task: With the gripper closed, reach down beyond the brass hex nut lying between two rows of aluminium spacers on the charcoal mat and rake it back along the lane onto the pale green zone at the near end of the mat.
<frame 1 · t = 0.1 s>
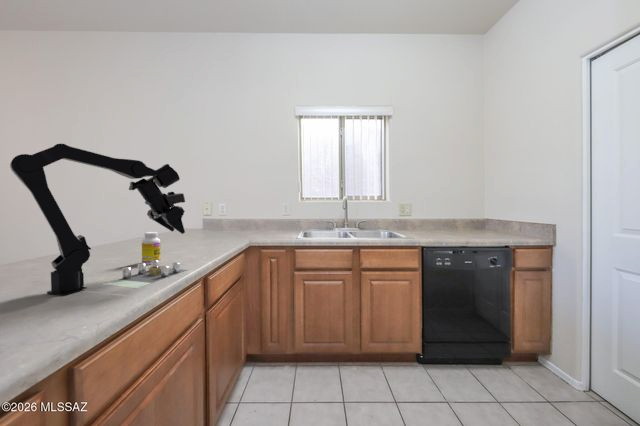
hand: (178, 231, 107), 15 cm above the worktop, tool tilted 30°, fingers open, 9 cm apart
supplement bottle: (151, 264, 121), on the worktop
mat: (149, 277, 100), on the worktop
spacers: (153, 270, 102), on the mat
nut: (156, 274, 103), resting on mat
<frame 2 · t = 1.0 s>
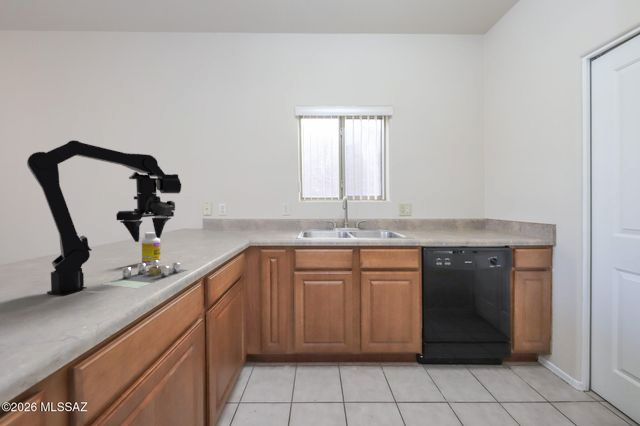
hand: (148, 239, 99), 13 cm above the worktop, tool pointing down, fingers open, 9 cm apart
nothing on the worktop moved.
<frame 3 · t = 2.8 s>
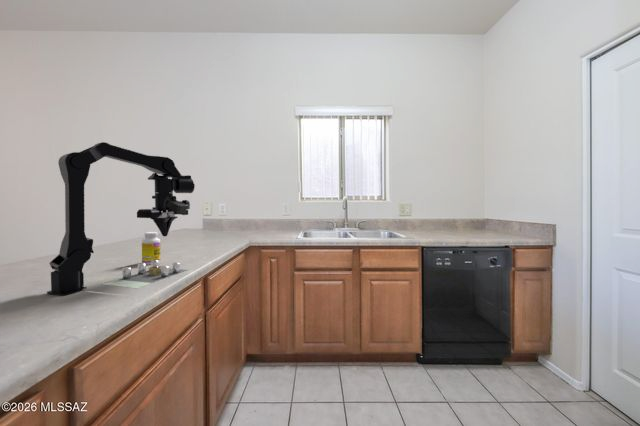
hand: (164, 236, 107), 13 cm above the worktop, tool pointing down, fingers closed
nothing on the worktop moved.
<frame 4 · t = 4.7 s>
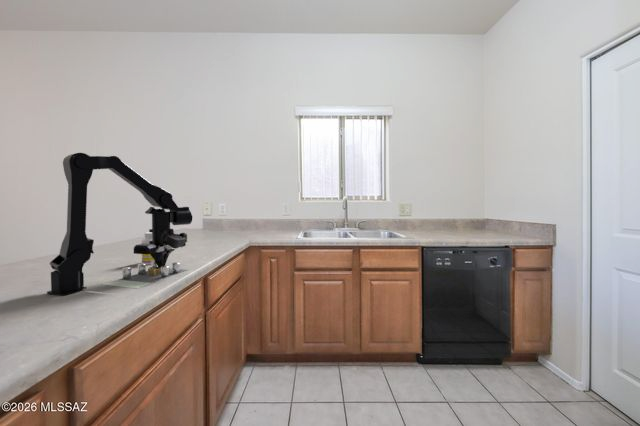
hand: (161, 269, 106), 1 cm above the worktop, tool pointing down, fingers closed
nut: (155, 274, 103), resting on mat, touching gripper
everything else where it was.
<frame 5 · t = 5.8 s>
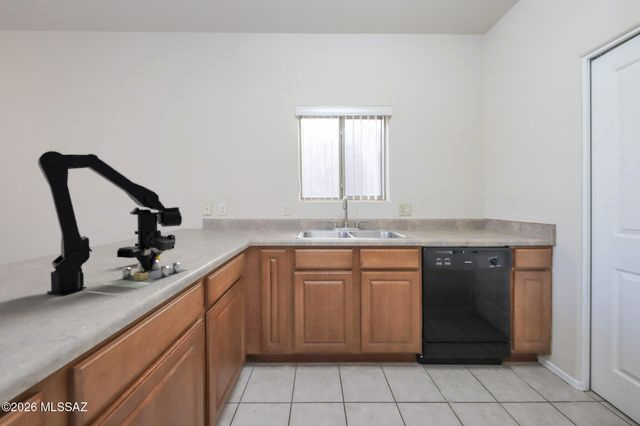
hand: (148, 273, 100), 1 cm above the worktop, tool pointing down, fingers closed
nut: (141, 279, 97), resting on mat, touching gripper
everything else where it was.
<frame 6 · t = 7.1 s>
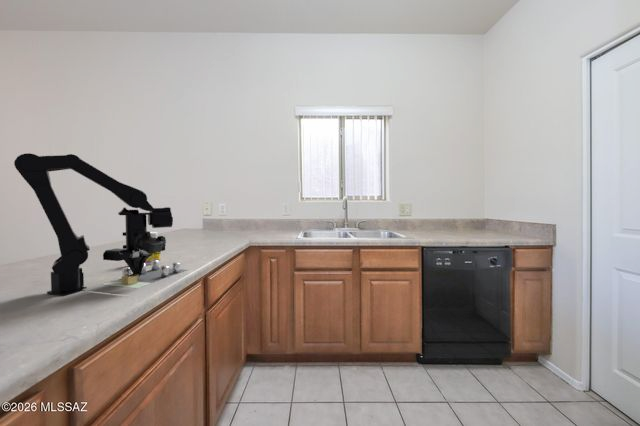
hand: (137, 276, 96), 2 cm above the worktop, tool pointing down, fingers closed
nut: (130, 282, 93), resting on mat, touching gripper
everything else where it was.
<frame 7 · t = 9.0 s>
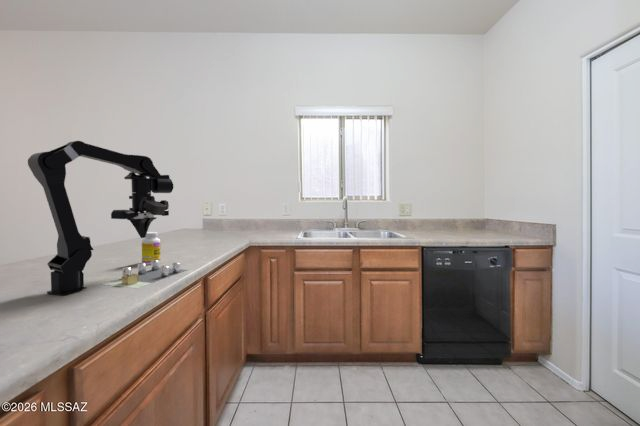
hand: (142, 237, 103), 13 cm above the worktop, tool pointing down, fingers closed
nut: (130, 282, 93), resting on mat
everything else where it was.
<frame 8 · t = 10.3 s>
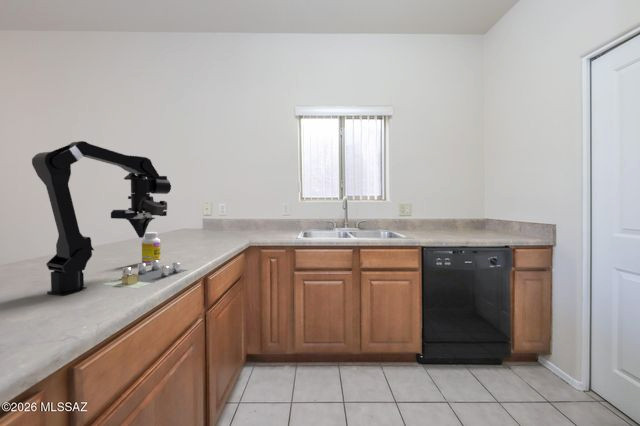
hand: (141, 237, 105), 13 cm above the worktop, tool pointing down, fingers closed
nothing on the worktop moved.
at the end: nut inside the target area (1.3 cm from its centre), resting on mat; nut moved 10.8 cm from its start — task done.
